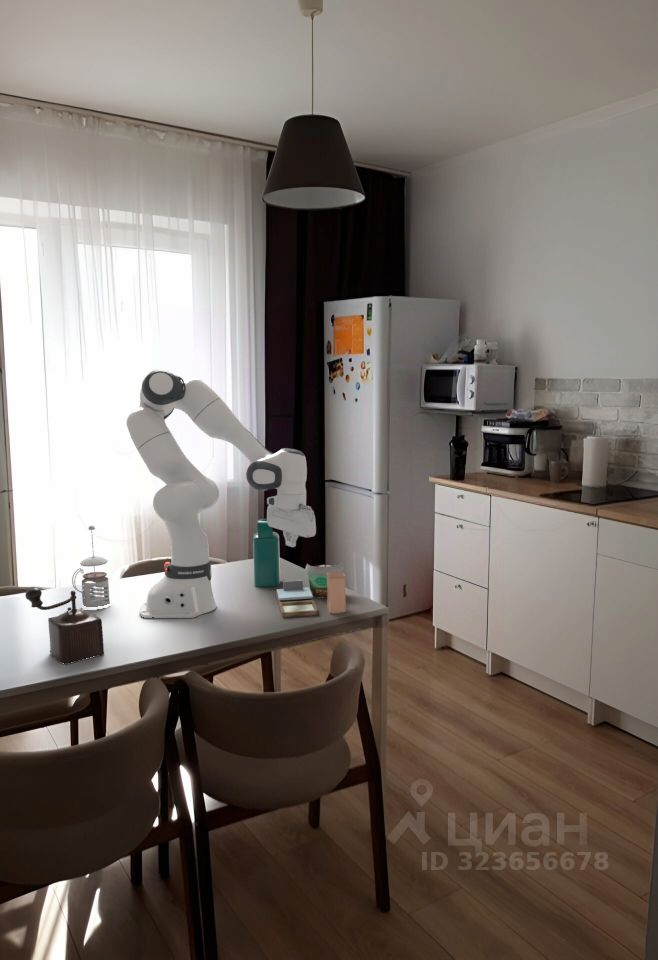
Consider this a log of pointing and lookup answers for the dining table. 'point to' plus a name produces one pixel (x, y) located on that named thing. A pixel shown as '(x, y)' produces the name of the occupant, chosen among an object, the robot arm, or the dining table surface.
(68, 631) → the manual coffee grinder
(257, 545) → the green bottle
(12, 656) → the dining table surface
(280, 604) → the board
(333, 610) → the canister
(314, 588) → the food container
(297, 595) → the cover
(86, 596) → the french press
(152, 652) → the dining table surface
